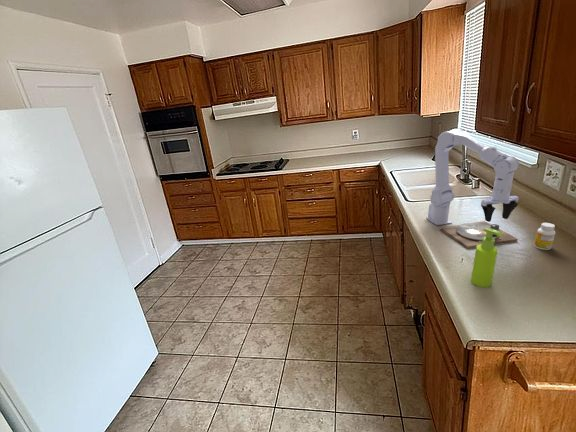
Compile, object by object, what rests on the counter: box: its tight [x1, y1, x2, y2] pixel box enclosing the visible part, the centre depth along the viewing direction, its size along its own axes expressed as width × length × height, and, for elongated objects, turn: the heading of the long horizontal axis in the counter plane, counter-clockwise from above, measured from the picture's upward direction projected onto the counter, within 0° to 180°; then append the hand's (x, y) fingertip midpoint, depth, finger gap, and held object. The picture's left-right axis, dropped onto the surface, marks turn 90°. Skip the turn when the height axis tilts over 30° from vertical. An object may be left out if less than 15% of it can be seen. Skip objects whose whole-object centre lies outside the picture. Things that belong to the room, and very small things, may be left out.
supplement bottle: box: [533, 222, 556, 251], centre depth 117 cm, size 5×5×10 cm
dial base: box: [439, 220, 519, 250], centre depth 132 cm, size 19×22×2 cm
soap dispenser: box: [470, 228, 505, 288], centre depth 99 cm, size 6×7×20 cm
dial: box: [456, 222, 500, 241], centre depth 131 cm, size 16×16×5 cm
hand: (496, 219), depth 124 cm, fingers open, 7 cm apart
